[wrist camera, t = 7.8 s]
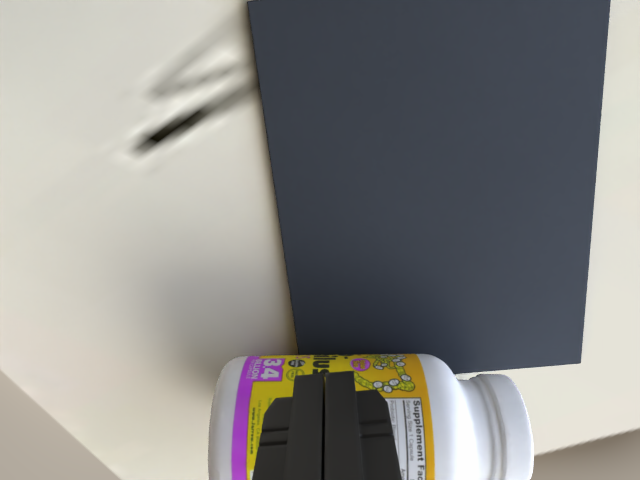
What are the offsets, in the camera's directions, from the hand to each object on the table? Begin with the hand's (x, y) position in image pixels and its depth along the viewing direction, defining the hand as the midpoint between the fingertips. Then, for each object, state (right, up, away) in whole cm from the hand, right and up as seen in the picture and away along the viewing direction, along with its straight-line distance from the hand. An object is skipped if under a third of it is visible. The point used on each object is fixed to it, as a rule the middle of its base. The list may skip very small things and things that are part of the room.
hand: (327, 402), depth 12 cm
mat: (+5, +6, +9) cm, 12 cm away
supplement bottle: (-5, -4, +9) cm, 11 cm away
